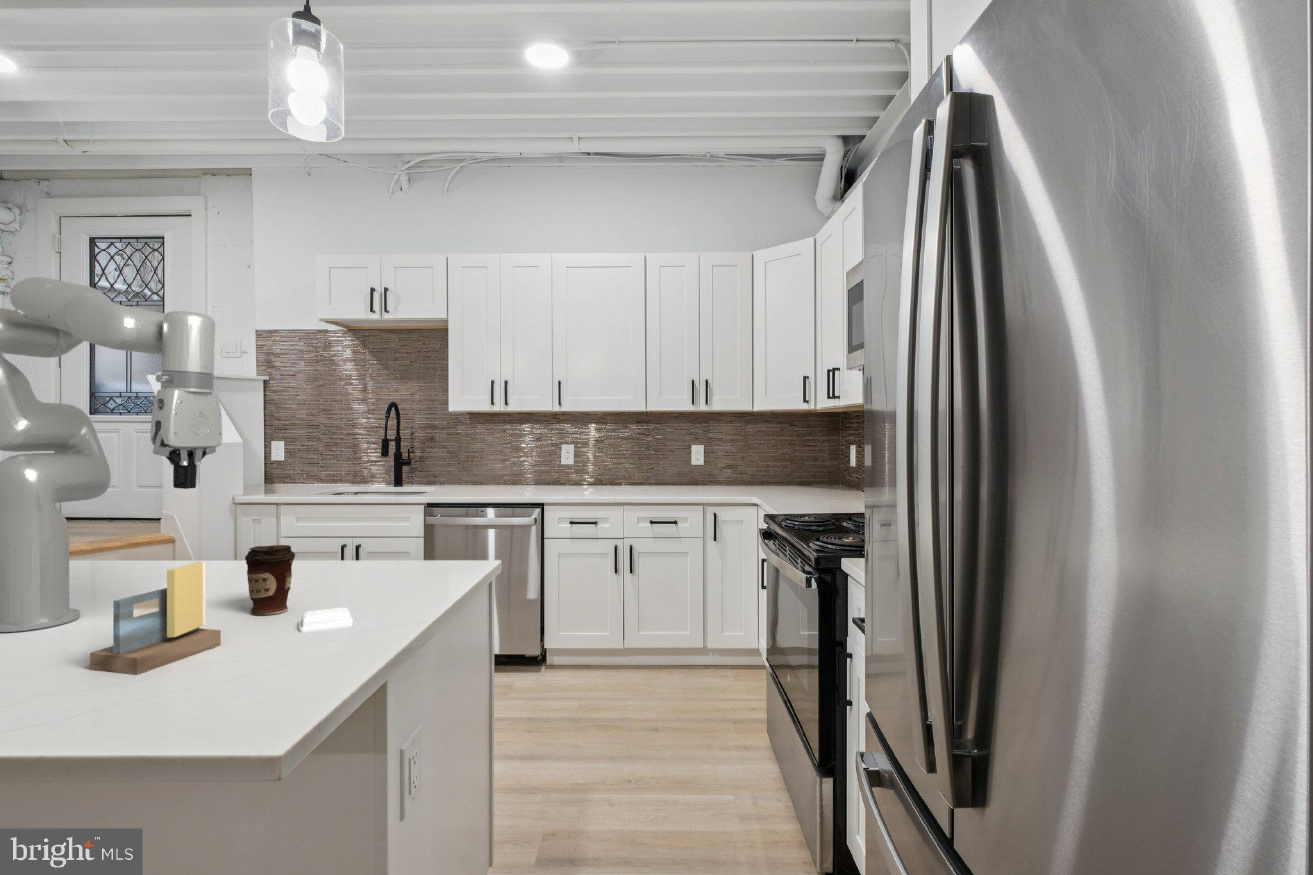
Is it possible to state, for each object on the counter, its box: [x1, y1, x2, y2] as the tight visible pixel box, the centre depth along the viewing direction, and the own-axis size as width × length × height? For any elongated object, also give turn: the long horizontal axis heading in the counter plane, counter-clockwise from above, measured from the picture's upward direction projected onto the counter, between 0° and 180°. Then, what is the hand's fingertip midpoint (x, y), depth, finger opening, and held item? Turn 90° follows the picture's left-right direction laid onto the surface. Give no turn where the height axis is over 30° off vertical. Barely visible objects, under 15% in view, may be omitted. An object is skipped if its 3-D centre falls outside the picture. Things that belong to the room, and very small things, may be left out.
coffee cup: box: [244, 544, 296, 616], centre depth 131 cm, size 9×8×13 cm
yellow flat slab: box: [166, 561, 207, 637], centre depth 107 cm, size 1×7×10 cm, turn 0°
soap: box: [298, 606, 354, 633], centre depth 122 cm, size 9×7×3 cm
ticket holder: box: [89, 587, 222, 676], centre depth 105 cm, size 9×14×10 cm, turn 166°
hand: (184, 487), depth 116 cm, fingers closed
